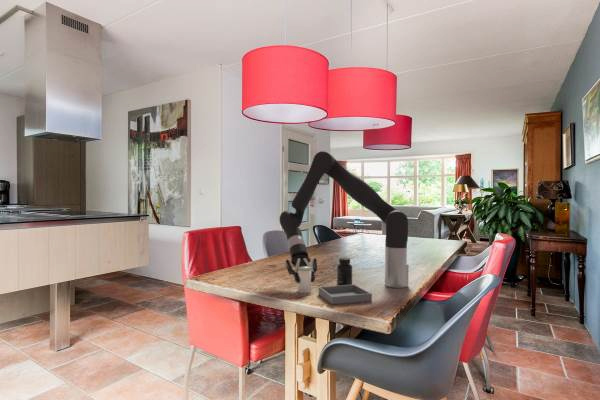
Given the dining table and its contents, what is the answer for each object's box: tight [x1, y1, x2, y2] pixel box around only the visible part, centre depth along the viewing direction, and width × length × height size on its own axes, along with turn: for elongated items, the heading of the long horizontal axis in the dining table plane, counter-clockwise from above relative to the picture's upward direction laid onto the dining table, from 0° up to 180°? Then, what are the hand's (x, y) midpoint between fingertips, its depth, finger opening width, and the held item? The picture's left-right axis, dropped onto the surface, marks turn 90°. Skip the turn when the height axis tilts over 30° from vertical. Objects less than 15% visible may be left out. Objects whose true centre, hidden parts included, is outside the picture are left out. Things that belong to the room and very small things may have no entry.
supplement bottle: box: [336, 257, 353, 286], centre depth 152 cm, size 7×7×12 cm
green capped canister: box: [297, 265, 313, 294], centre depth 142 cm, size 6×6×10 cm
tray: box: [318, 283, 373, 306], centre depth 133 cm, size 16×14×3 cm
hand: (305, 281), depth 140 cm, fingers closed on green capped canister, 5 cm apart
